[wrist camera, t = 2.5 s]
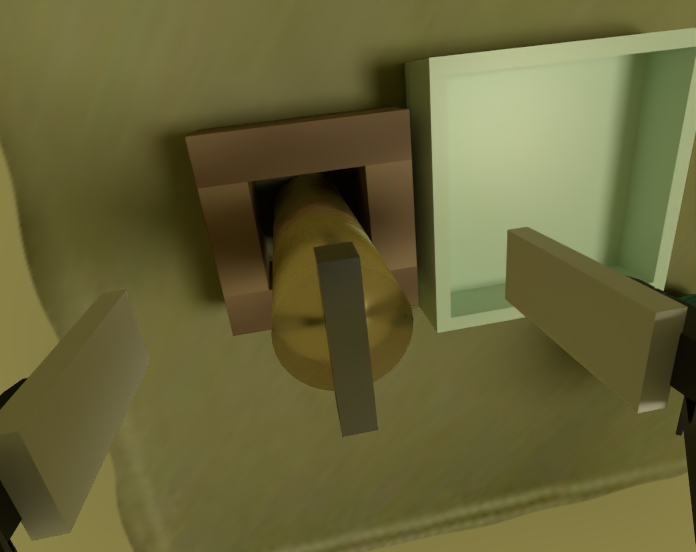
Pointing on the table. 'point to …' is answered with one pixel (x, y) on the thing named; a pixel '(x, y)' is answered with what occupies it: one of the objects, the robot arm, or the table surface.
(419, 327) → the table surface
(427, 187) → the tray
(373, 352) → the amber rounded cylinder
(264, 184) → the table surface
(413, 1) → the table surface
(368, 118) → the block
